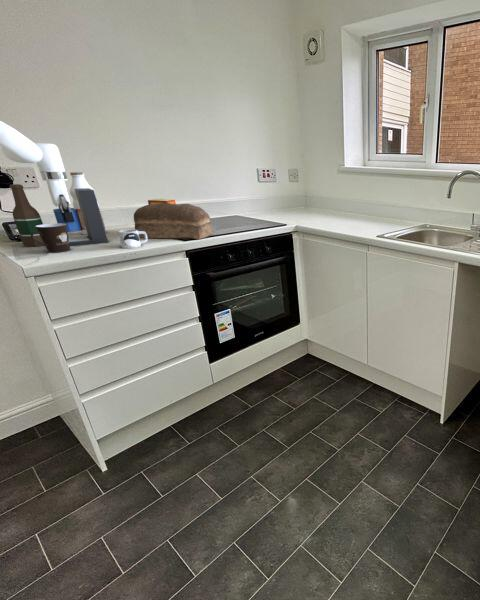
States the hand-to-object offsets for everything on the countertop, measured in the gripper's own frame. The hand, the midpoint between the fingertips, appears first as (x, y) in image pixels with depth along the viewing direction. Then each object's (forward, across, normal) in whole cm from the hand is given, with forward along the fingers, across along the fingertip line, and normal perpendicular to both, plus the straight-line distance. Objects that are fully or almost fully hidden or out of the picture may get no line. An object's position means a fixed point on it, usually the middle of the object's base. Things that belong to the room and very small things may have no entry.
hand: (68, 220), depth 147 cm
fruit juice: (+10, -21, +9) cm, 25 cm away
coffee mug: (+10, +14, -8) cm, 18 cm away
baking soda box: (+10, -8, +37) cm, 39 cm away
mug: (+10, +21, +17) cm, 29 cm away
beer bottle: (+10, -4, -12) cm, 16 cm away
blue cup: (+4, 0, 0) cm, 4 cm away
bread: (+10, +9, +36) cm, 39 cm away
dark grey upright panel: (+10, 0, +2) cm, 10 cm away
